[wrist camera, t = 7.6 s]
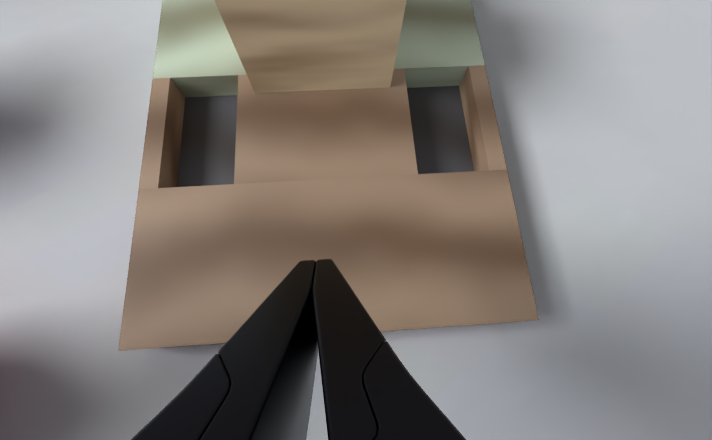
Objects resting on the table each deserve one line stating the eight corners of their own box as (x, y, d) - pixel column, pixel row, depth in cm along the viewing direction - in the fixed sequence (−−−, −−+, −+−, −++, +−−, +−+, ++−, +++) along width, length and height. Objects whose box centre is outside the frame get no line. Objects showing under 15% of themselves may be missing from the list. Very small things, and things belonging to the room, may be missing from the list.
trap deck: (517, 318, 17) (539, 319, 15) (145, 345, 16) (118, 350, 14) (452, -15, 24) (461, -43, 22) (182, -7, 23) (167, -35, 21)
